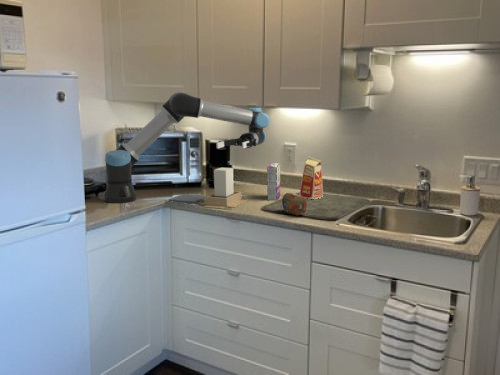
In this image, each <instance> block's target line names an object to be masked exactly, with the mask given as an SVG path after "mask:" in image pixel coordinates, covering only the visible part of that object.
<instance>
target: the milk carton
mask: <svg viewBox="0 0 500 375" xmlns="http://www.w3.org/2000/svg"><path fill="white" fill-rule="evenodd" d="M307 157H308V158H307V160H306V162H305V163H304V168H303V171H302V175H301V180H300V181H301V182H300V189H299V194H298V195H300V196H303V197H304V198H308V199H307V200H311V199H314V200H318V198H319V199H322V198H323V197H324V188H323V172H322V163H321V162H322V160H320V159H317V158H313V157H311V156H307ZM321 197H322V198H321Z"/></svg>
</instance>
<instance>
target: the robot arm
mask: <svg viewBox="0 0 500 375" xmlns="http://www.w3.org/2000/svg"><path fill="white" fill-rule="evenodd" d="M185 117H186V118H195V119H198V118H200V117H202V118H206V119H214V120H217V121H223V122H228V123H233V124H238V125H243V126H248V132H246V133H243V134H241V135H240V136H239V137H238V138H229V139H224V140H218V142H216V144H215V145H216V149H223V148H224V147H228V146H235V147H237V146H239V147H241V149H249V148H250V149H251V148H252V149H253V147H256V146H260V145H262V144H263V143H264V142H266V139H267V135H266V132H265V131H264V129H265V128H267V127H268V126H269V125H270V122H271V121H270V116H269V115H268V113H267V114H266V113H265V112H263V109H262V108H261V107H249V108H248V109H244V108H240V107H234V106H230V105H225V104H220V103H215V102H210V101H204V100H203V99H202V98H200V97H195V96H193V95H191V94H189V93H185V92H179V91H178V92H176V93H173V94H172V95H170V97H169V98H168V100H167V101H165V103H164V104H162V105H161V111H159V112H158V113H157V114H156V115H155V116H154V117H153V118H152V119H151V120H150V121H149V122H148V123H146V124H145V126H144V127H142V129H140V131H138V133H136V134H135V135H134V136H132V138H131V139H130V140H129V141H128V142H127V143H122V144H120V146H118V147H117V148H116V149H114V150H109V151H107V152H106V153H105V157H104V161H105V168H106V171H105V172H106V173H105V174H106V187H105V191H104V195H103V200H104V202H106V203H111V204H114V203H115V204H118V203H119V204H121V203H129V202H134V201H136V200H137V193H136V191H135V188H134V185H133V180H132V179H133V178H132V177H133V176H132V175H133V174H132V168H133V166H134V165H136V163H137V162H139V160H140V156H141V155H142V154H143V153H144V151H146V150H147V149H148V148H149V147H150V146H151V145H152V144H153V143H155V142H156V140H157V139H158V138H159V137H160V136H162V134H164V133H165V132H166V131H167V130H168V129H170V127H171V126H172V125H173V124H179V123H180V122H181V121H182V120H183V119H184V118H185Z"/></svg>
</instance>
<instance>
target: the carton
mask: <svg viewBox="0 0 500 375" xmlns="http://www.w3.org/2000/svg"><path fill="white" fill-rule="evenodd" d="M206 196H207V197H206V199H205V201H204V202H202V203H200V205H201V206H203V207H204V208H211V209H219V210H221V209H224V208H233V209H234V208H236V207H238V206H240V205H242V204H244V203H246V202H248V200H247V199H244V198H243V197H242V191H236V190H234V195H232V196H230V197H227V198H217V197H215V193H213V194H210V195H206Z"/></svg>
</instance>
